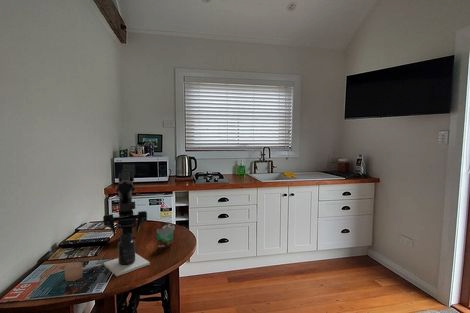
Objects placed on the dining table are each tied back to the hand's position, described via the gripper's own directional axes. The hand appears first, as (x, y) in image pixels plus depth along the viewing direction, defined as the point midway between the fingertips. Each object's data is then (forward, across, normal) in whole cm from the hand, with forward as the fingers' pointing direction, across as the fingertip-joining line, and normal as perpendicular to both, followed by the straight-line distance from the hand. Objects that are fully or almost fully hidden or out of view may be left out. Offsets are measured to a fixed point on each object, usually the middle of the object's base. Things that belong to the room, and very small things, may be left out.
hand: (126, 235), depth 121 cm
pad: (+12, 0, +3) cm, 13 cm away
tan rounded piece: (+15, -19, 0) cm, 24 cm away
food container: (+2, +20, +14) cm, 24 cm away
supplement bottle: (+12, 0, +2) cm, 12 cm away
